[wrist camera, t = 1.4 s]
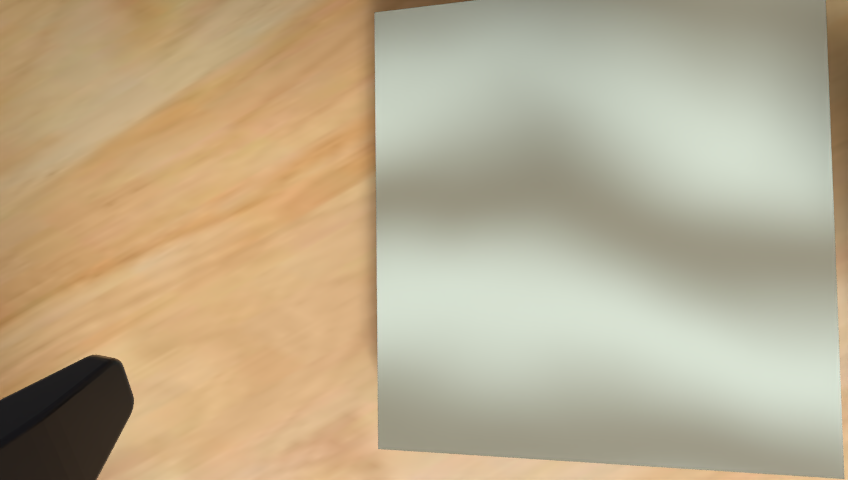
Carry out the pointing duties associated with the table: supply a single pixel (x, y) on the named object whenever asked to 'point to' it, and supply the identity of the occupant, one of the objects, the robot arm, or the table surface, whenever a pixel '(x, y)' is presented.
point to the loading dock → (608, 233)
